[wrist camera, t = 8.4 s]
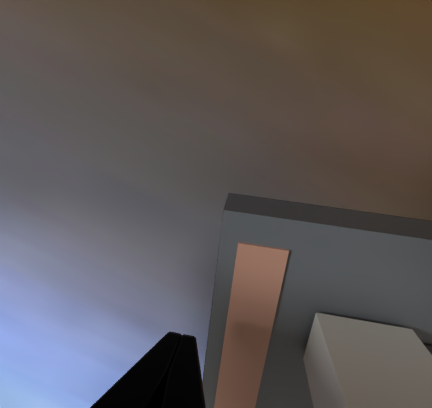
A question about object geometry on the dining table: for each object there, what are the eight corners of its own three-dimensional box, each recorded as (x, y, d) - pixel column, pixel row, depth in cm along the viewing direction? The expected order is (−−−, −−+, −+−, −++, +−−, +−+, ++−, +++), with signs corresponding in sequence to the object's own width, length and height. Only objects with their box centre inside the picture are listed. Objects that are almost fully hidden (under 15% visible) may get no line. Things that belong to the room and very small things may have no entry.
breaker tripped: (303, 358, 9) (331, 490, 6) (315, 312, 9) (355, 431, 5) (392, 375, 9) (473, 524, 6) (412, 329, 8) (517, 465, 5)
